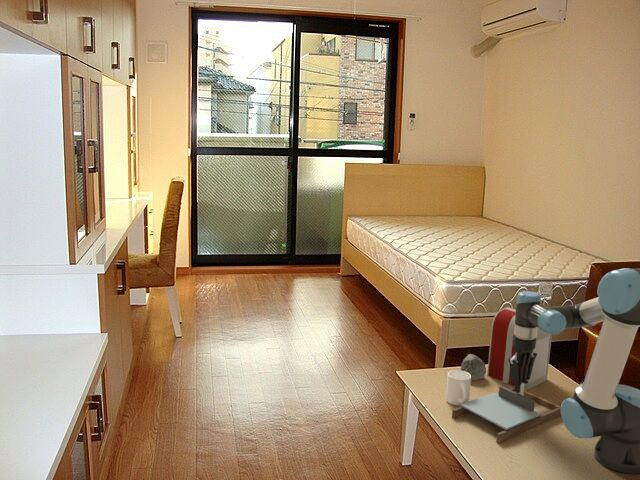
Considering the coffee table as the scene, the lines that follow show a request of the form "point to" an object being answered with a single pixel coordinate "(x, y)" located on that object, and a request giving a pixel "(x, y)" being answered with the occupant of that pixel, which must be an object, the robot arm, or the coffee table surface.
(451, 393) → the mug
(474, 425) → the coffee table surface
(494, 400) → the lid
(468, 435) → the coffee table surface
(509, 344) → the red striped arch block
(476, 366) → the stone
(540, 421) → the brown wooden frame
